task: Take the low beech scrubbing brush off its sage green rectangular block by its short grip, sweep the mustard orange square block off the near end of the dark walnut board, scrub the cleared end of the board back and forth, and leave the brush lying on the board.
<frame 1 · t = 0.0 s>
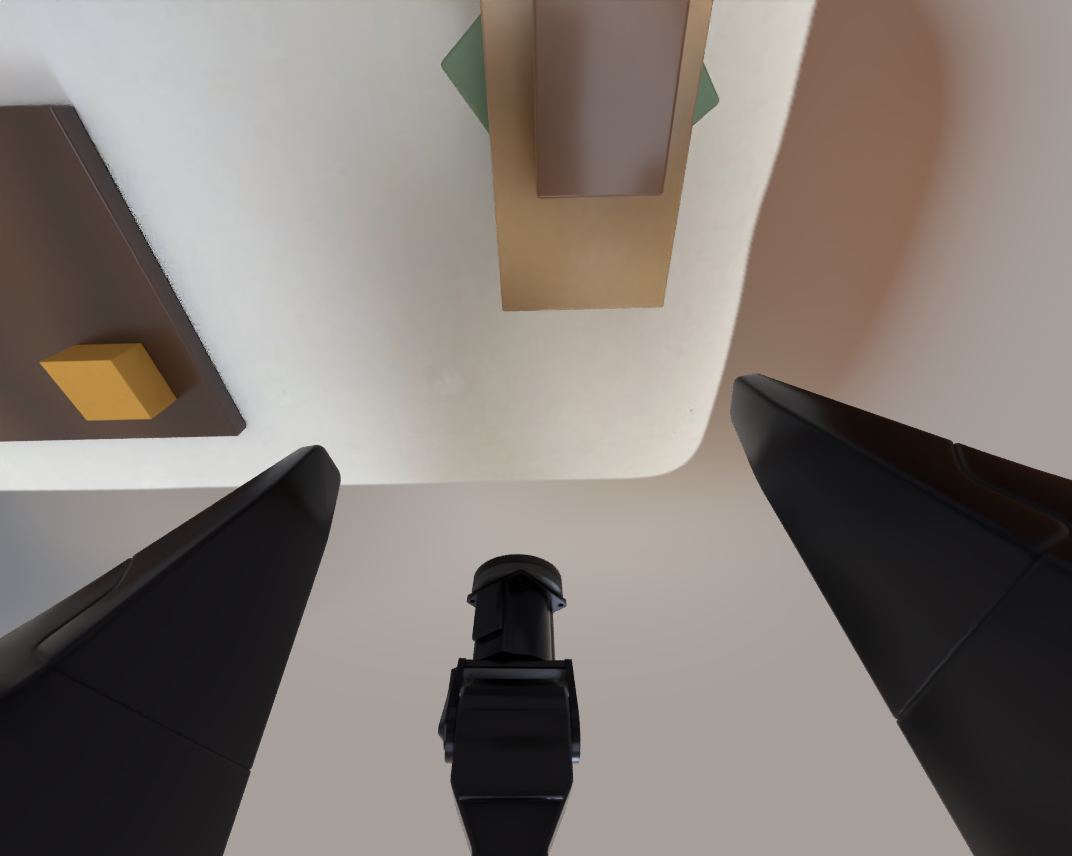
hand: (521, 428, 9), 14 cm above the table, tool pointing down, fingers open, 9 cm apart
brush: (583, 83, 10), point 8 cm above the table, touching sage green rectangular block
mustard orange square block: (128, 373, 22), point 1 cm above the table, touching board
sage green rectangular block: (562, 101, 17), on the table
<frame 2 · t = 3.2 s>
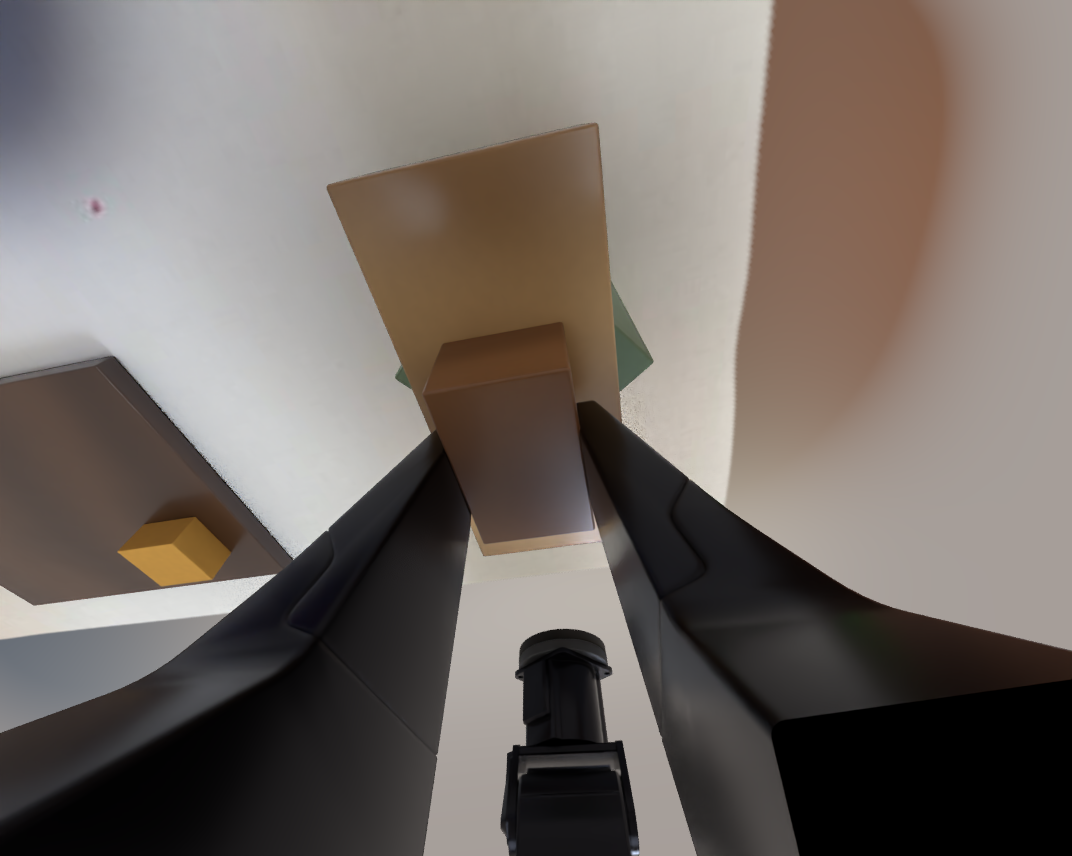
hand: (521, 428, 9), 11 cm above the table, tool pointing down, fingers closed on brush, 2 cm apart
board: (72, 501, 25), on the table
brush: (522, 370, 11), point 8 cm above the table, touching sage green rectangular block, gripper
mustard orange square block: (189, 538, 26), point 1 cm above the table, touching board
sage green rectangular block: (525, 281, 17), on the table
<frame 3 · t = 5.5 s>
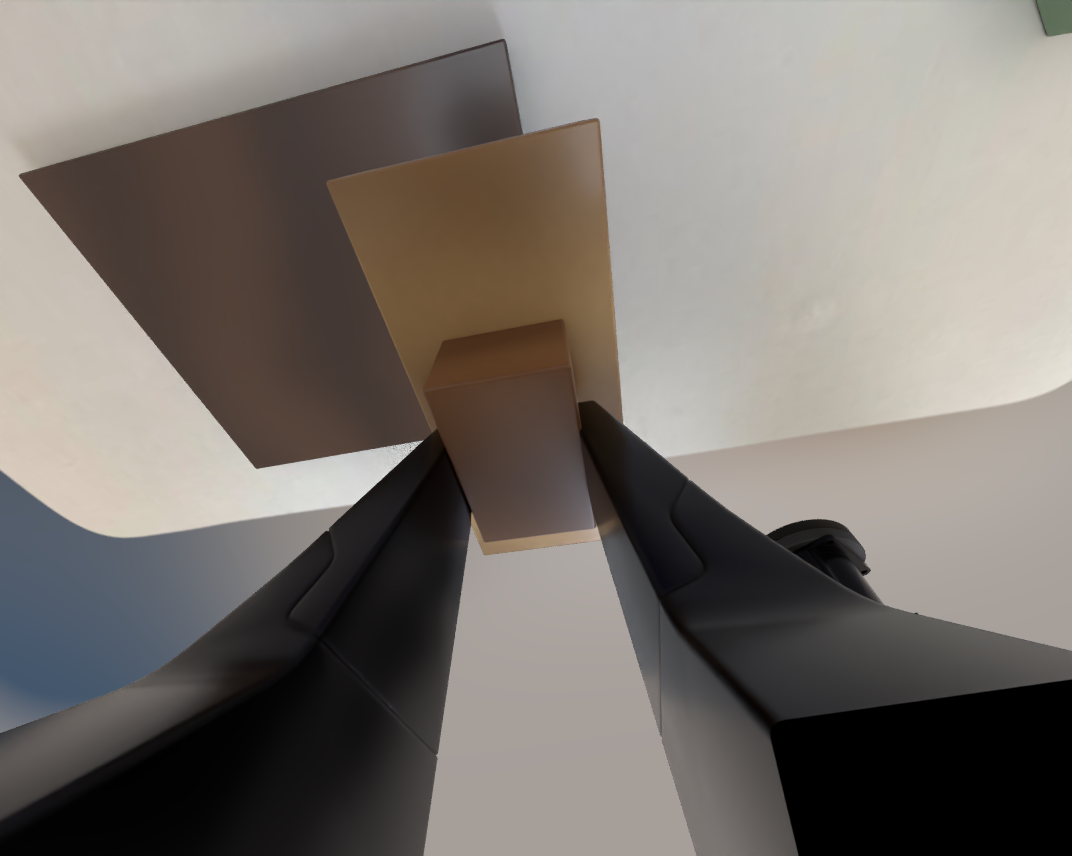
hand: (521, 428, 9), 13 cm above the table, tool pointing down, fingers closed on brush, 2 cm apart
board: (351, 308, 21), on the table
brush: (523, 369, 11), point 10 cm above the table, touching gripper
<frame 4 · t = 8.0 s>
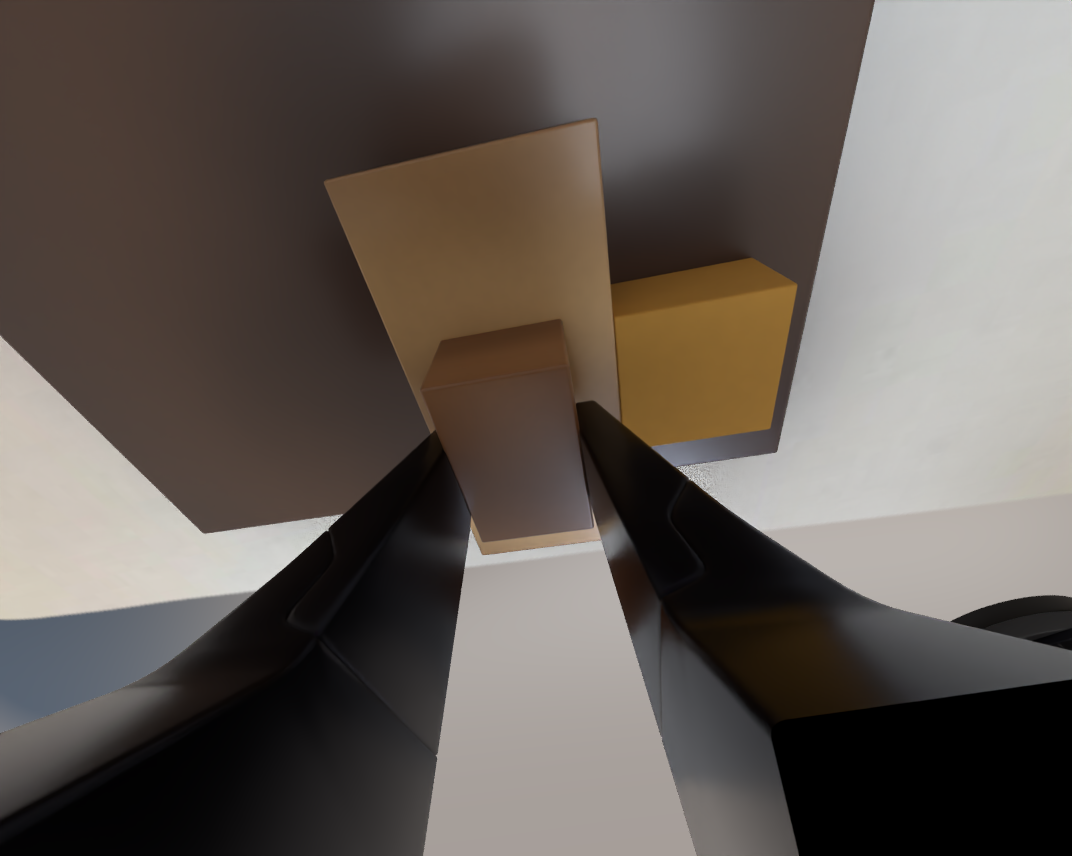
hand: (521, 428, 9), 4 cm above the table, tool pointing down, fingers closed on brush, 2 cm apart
board: (385, 239, 10), on the table
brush: (521, 368, 11), point 1 cm above the table, touching gripper
mustard orange square block: (673, 340, 11), point 1 cm above the table
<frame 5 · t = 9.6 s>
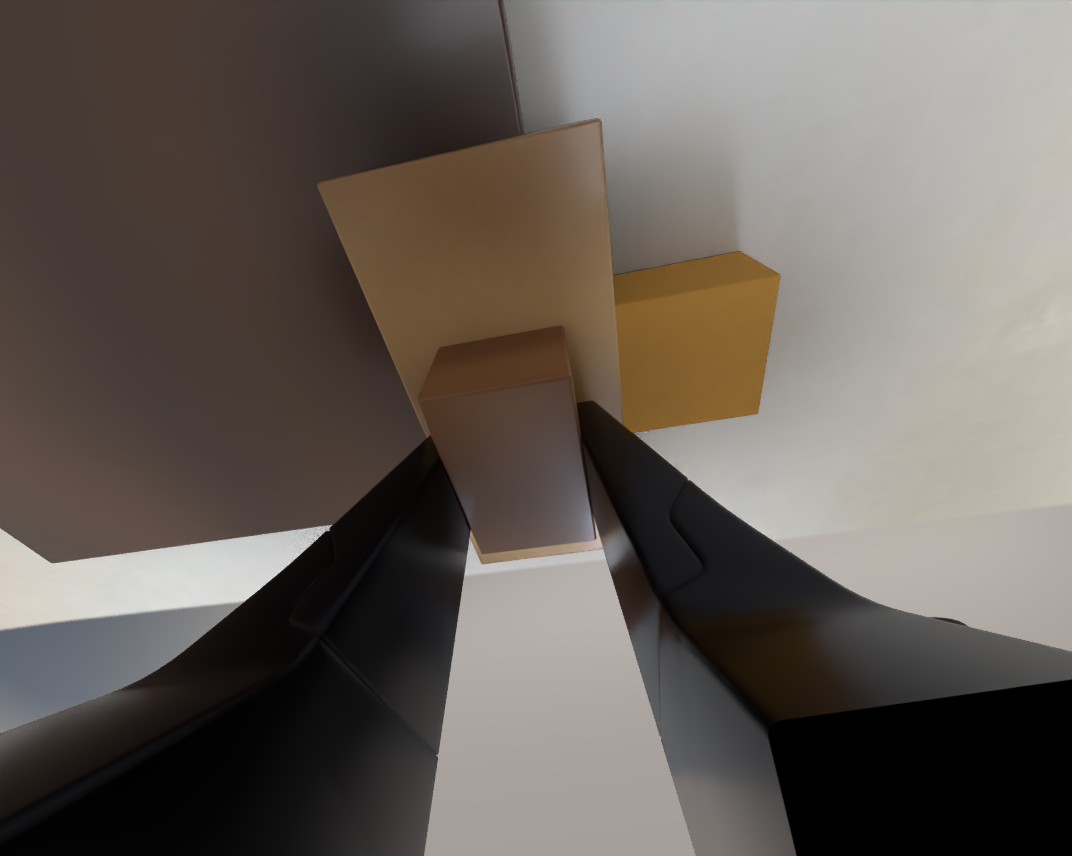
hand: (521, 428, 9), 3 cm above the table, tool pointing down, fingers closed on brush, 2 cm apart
board: (152, 296, 10), on the table
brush: (522, 374, 11), point 1 cm above the table, touching mustard orange square block, gripper
mustard orange square block: (667, 330, 11), on the table, touching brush
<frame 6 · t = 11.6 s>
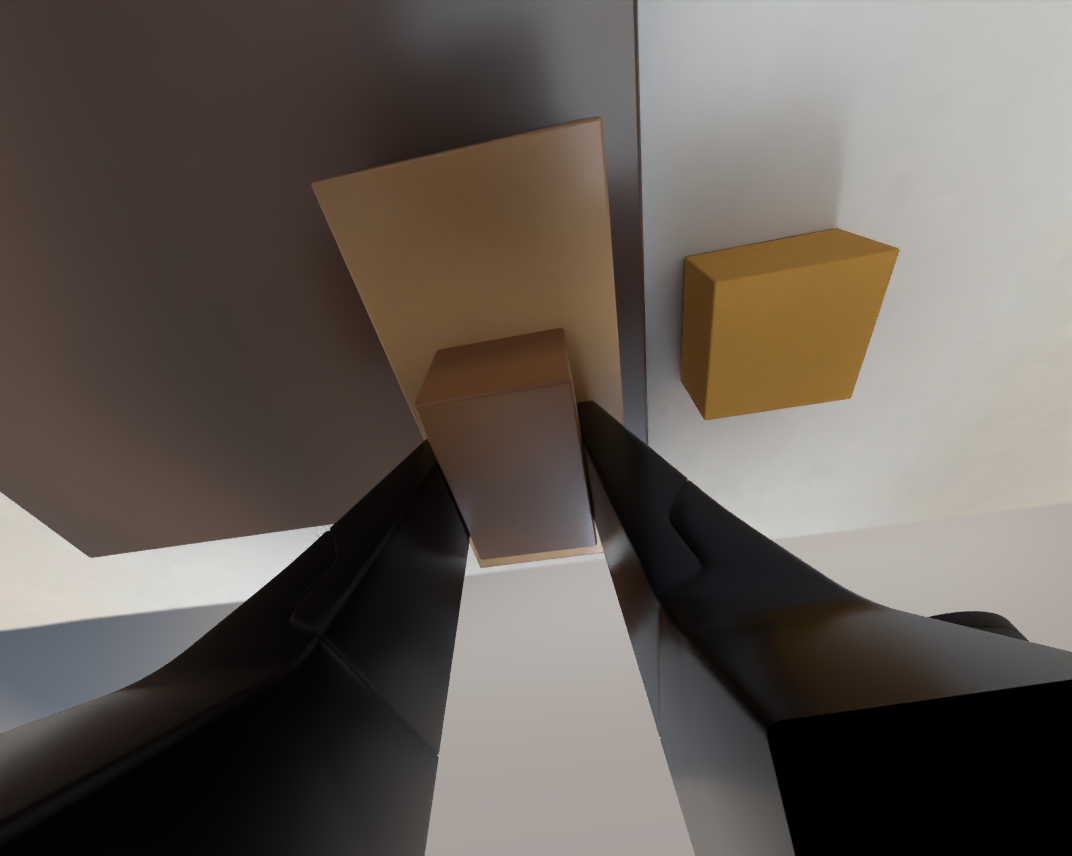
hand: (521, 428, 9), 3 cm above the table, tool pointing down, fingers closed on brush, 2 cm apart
board: (217, 274, 10), on the table
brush: (521, 376, 11), point 1 cm above the table, touching gripper
mustard orange square block: (750, 312, 11), on the table
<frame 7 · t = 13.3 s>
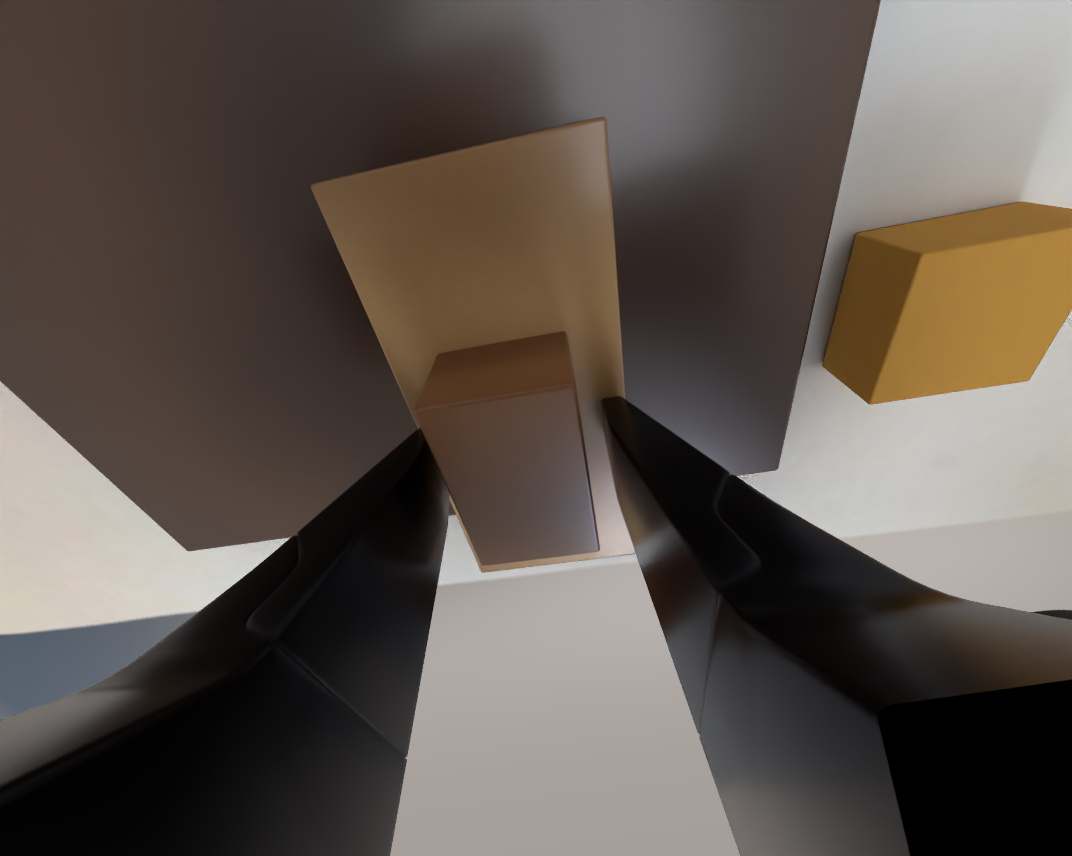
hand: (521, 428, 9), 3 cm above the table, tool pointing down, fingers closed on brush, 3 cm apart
board: (367, 253, 10), on the table
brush: (523, 380, 10), point 1 cm above the table, touching board, gripper
mustard orange square block: (910, 293, 10), on the table
when the fingers open (3 cm above the table, at t = 13.3 s): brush stays where it is, resting on board.
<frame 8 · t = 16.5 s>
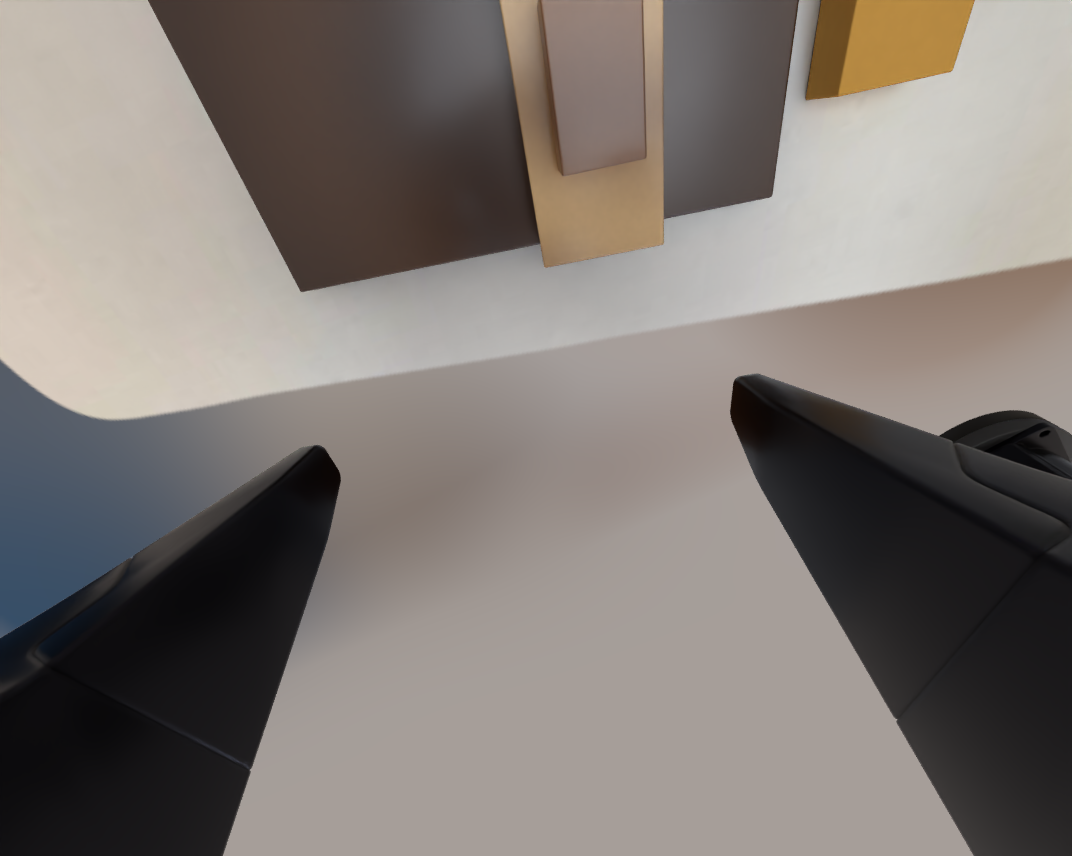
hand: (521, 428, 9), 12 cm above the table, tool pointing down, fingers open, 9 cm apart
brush: (582, 91, 14), point 1 cm above the table, touching board
mustard orange square block: (869, 23, 14), on the table
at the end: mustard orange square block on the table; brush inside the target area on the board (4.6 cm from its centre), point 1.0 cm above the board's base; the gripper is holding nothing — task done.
